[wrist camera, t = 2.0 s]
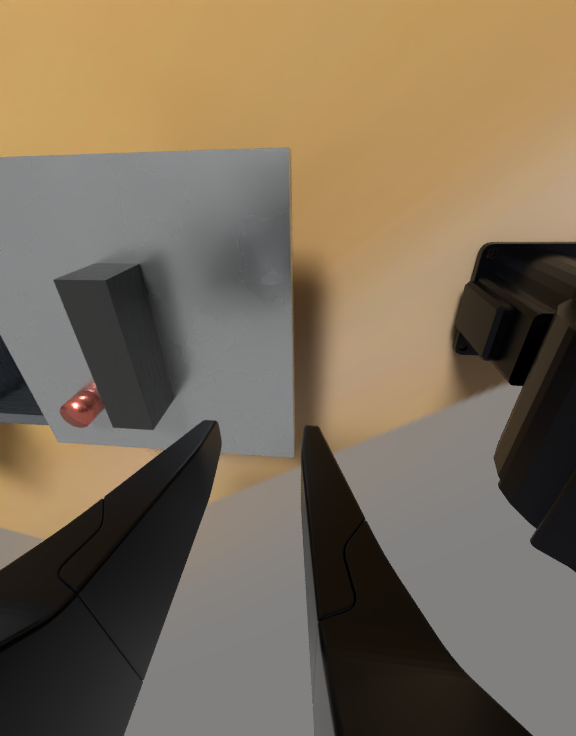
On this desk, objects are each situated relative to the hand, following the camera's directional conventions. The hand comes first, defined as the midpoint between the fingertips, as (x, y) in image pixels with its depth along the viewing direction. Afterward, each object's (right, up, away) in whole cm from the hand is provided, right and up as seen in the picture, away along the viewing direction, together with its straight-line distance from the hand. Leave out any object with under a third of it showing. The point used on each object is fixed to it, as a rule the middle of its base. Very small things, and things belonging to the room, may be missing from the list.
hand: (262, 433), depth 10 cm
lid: (-6, +4, +6) cm, 10 cm away
